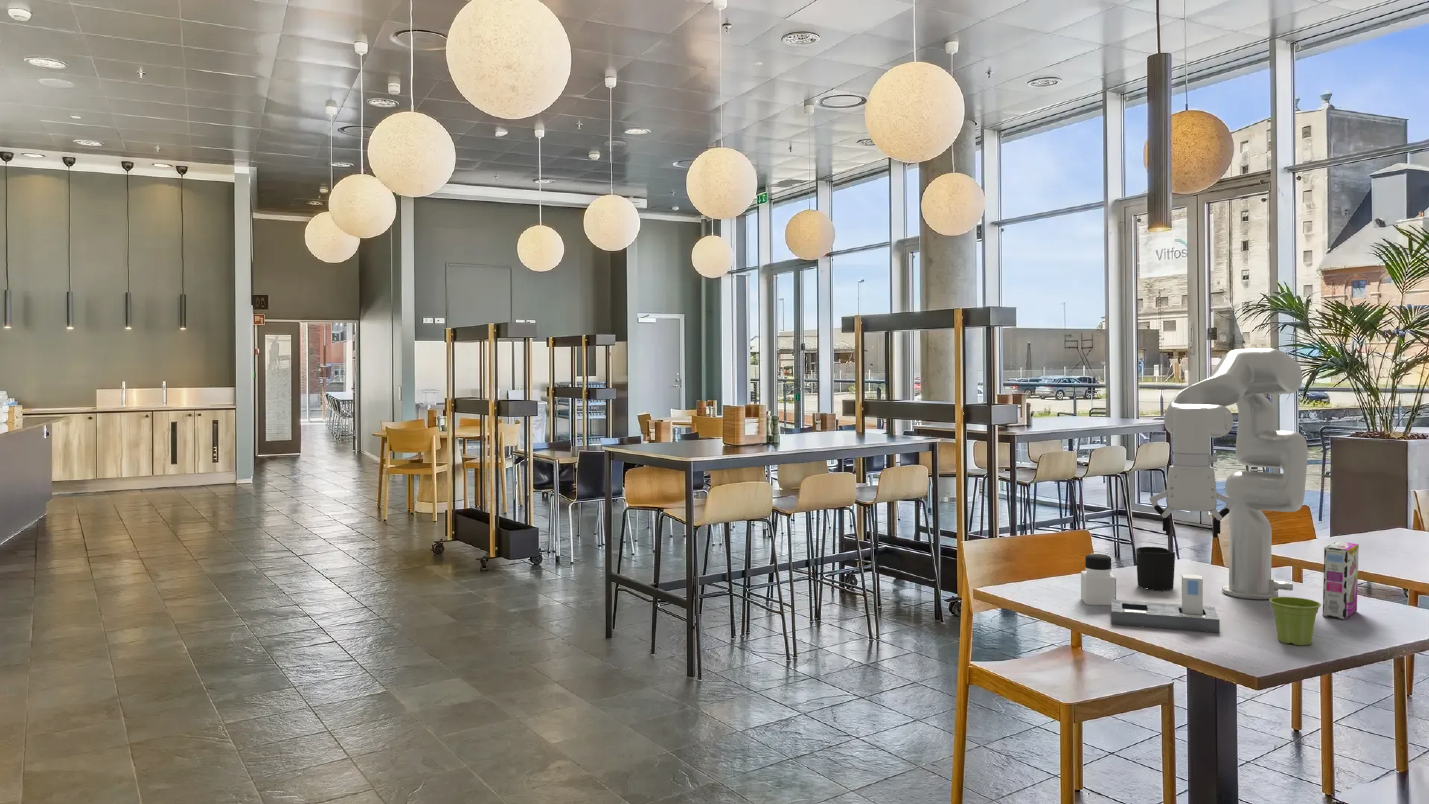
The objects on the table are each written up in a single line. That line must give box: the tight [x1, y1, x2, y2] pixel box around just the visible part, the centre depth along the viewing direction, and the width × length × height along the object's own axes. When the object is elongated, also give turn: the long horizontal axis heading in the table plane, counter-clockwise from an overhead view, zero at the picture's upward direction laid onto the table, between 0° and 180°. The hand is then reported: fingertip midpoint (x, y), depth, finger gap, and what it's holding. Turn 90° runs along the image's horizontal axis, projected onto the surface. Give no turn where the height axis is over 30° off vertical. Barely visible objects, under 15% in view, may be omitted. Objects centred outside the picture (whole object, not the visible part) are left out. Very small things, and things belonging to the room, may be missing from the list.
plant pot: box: [1268, 596, 1322, 646], centre depth 204 cm, size 9×9×9 cm
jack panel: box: [1110, 599, 1221, 634], centre depth 221 cm, size 22×12×3 cm, turn 68°
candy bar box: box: [1322, 541, 1360, 620], centre depth 225 cm, size 11×5×16 cm, turn 134°
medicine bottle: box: [1080, 553, 1117, 607], centre depth 240 cm, size 7×7×12 cm
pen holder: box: [1135, 546, 1176, 591], centre depth 255 cm, size 9×9×10 cm
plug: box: [1181, 573, 1204, 615], centre depth 218 cm, size 4×5×11 cm
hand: (1191, 535), depth 218 cm, fingers open, 9 cm apart
